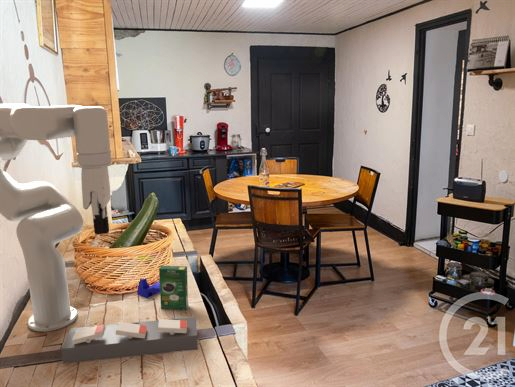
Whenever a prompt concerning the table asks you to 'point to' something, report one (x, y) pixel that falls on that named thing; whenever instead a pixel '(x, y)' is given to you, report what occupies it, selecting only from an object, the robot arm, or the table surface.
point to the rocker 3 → (172, 326)
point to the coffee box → (173, 287)
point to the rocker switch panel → (130, 343)
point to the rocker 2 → (131, 330)
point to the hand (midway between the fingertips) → (102, 232)
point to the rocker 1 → (89, 334)
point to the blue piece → (148, 288)
